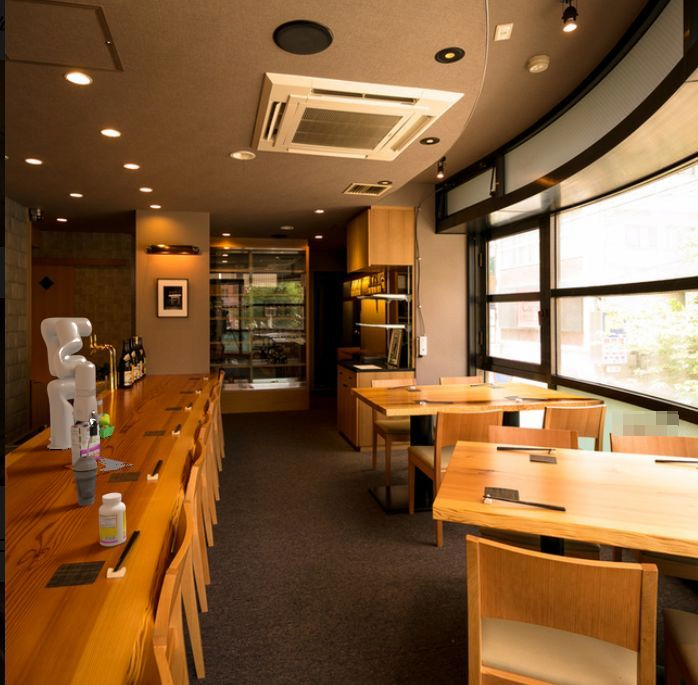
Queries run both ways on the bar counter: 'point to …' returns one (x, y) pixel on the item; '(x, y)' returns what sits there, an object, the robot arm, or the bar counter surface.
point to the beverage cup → (85, 479)
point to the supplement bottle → (112, 520)
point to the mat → (111, 464)
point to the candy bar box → (84, 442)
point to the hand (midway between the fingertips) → (86, 434)
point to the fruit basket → (105, 426)
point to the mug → (99, 405)
